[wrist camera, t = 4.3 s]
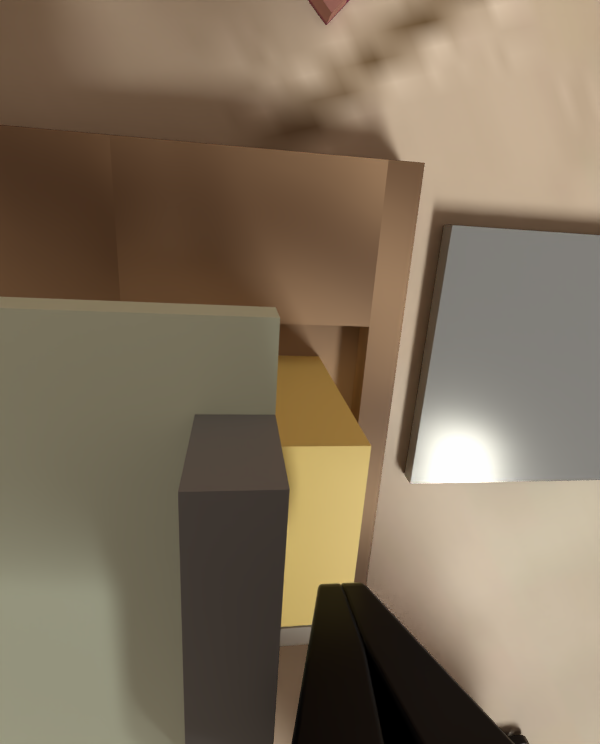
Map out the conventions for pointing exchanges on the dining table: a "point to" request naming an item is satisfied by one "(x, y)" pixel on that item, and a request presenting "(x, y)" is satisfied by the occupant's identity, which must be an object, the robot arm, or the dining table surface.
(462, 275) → the coaster
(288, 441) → the block
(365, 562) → the board
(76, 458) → the lid
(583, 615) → the dining table surface
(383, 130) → the dining table surface
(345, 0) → the chocolate bar
